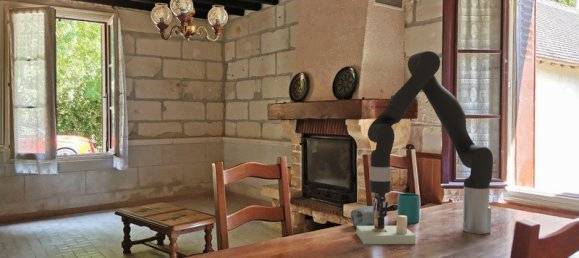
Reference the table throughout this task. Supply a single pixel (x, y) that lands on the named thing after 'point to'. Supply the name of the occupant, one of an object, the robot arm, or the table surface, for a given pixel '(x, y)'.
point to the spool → (363, 216)
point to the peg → (376, 228)
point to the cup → (409, 206)
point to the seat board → (387, 233)
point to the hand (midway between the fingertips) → (379, 225)
